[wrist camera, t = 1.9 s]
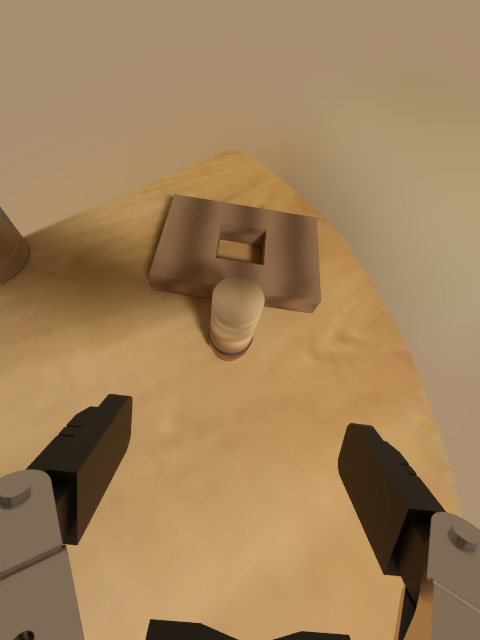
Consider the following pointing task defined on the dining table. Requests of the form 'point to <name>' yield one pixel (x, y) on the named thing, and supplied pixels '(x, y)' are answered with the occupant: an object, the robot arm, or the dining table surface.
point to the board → (207, 270)
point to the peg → (234, 316)
